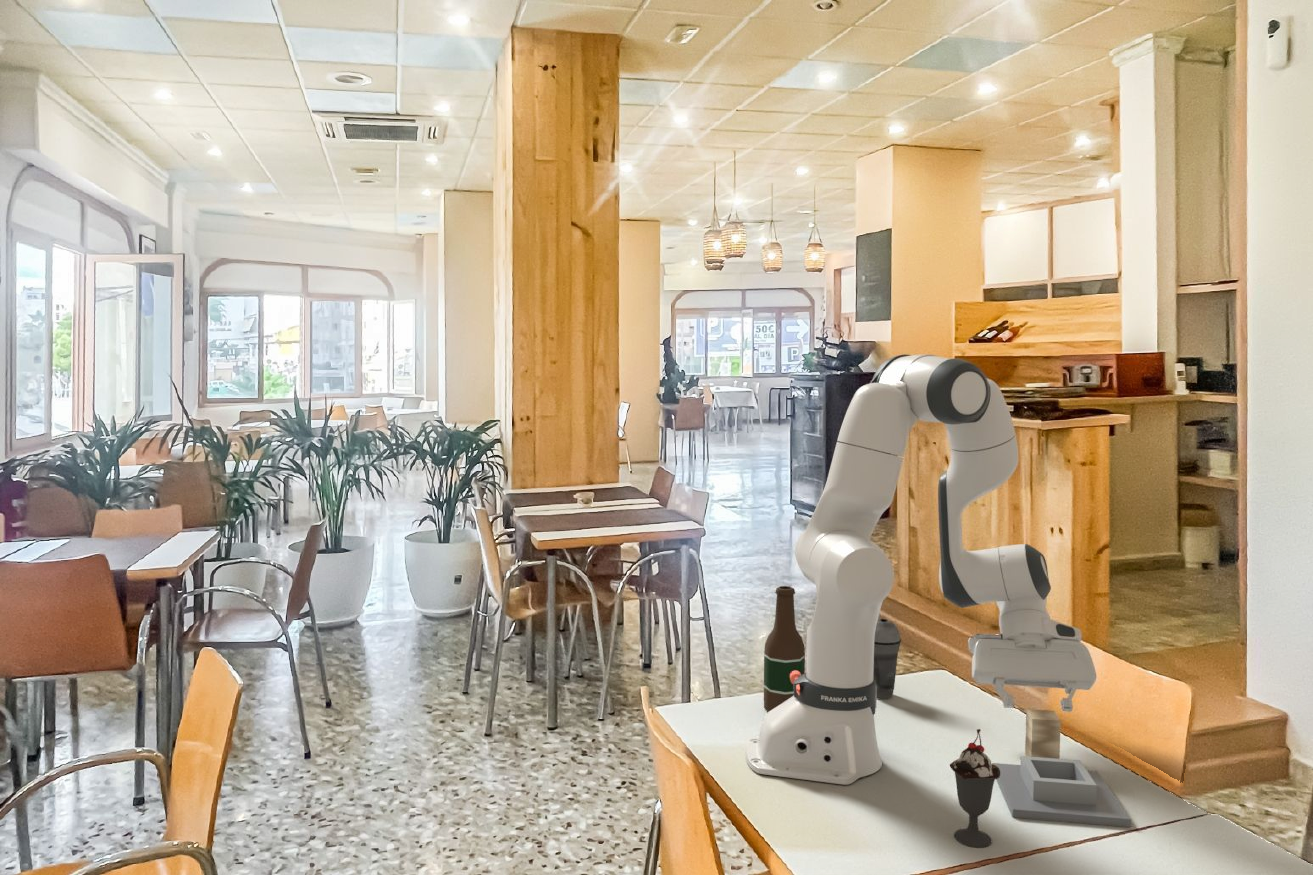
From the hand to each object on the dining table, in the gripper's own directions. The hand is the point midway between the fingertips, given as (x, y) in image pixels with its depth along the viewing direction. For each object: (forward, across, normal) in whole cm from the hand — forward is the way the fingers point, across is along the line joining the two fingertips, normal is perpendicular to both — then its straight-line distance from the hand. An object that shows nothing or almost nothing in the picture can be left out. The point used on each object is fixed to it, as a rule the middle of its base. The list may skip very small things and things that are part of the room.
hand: (1038, 708), depth 153 cm
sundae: (+28, -16, -17) cm, 37 cm away
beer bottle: (-3, -44, +14) cm, 46 cm away
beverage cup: (-11, -24, +22) cm, 35 cm away
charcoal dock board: (+17, -1, -6) cm, 19 cm away
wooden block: (+8, 0, +3) cm, 9 cm away
